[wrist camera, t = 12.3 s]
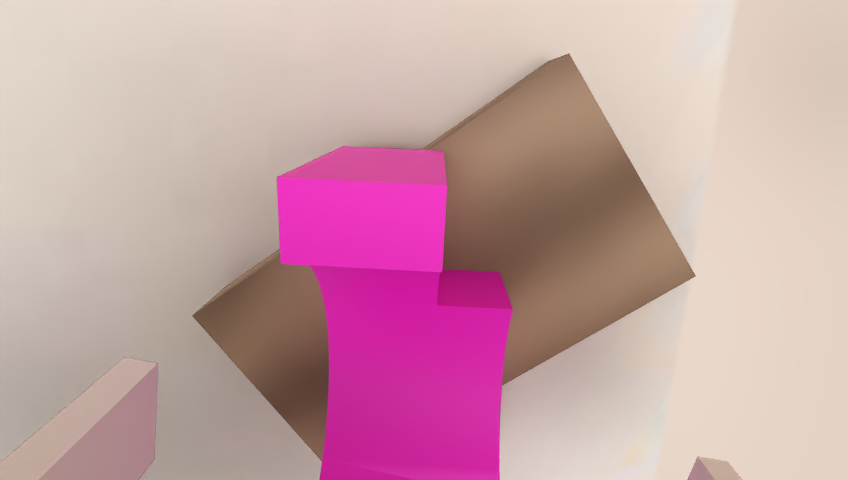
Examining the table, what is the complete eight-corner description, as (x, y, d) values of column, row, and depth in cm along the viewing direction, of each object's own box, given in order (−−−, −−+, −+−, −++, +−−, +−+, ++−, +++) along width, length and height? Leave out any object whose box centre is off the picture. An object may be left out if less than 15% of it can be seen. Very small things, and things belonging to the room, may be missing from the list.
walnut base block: (232, 280, 23) (192, 315, 20) (544, 62, 20) (568, 53, 16) (352, 422, 26) (336, 478, 22) (651, 246, 22) (695, 276, 18)
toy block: (479, 480, 22) (500, 669, 14) (345, 472, 22) (299, 656, 15) (510, 153, 17) (561, 191, 10) (343, 146, 17) (276, 177, 10)
